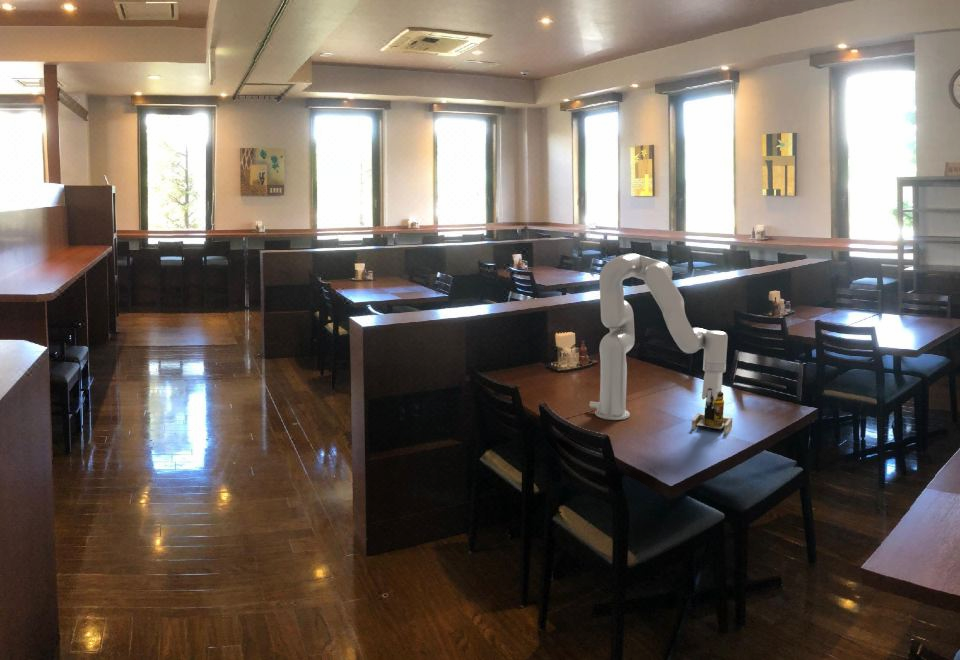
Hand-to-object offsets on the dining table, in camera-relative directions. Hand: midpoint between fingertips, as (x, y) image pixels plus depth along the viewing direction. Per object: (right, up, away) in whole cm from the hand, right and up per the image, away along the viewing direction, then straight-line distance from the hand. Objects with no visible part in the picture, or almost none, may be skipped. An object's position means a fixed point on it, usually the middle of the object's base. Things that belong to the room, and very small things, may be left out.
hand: (711, 415), depth 267 cm
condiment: (0, -3, +1) cm, 3 cm away
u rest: (0, -5, +1) cm, 5 cm away
